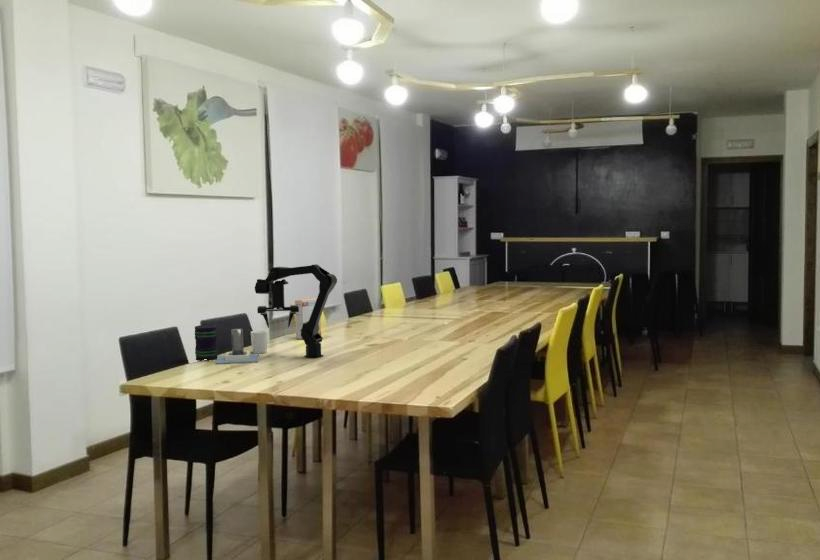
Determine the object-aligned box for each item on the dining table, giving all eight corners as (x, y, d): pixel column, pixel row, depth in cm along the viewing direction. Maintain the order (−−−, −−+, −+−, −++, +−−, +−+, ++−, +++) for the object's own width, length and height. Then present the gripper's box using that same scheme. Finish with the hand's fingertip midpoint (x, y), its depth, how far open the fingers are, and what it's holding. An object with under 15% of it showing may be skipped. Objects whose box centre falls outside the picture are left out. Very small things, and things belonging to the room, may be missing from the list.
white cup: (264, 354, 346) (263, 333, 345) (248, 353, 348) (247, 332, 347) (270, 351, 354) (270, 330, 353) (255, 350, 355) (254, 330, 355)
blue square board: (258, 355, 342) (258, 349, 342) (257, 362, 324) (257, 356, 324) (218, 357, 339) (218, 351, 339) (215, 364, 321) (215, 358, 321)
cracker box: (313, 335, 402) (312, 297, 400) (321, 336, 399) (320, 298, 397) (295, 339, 391) (294, 299, 389) (303, 340, 387) (302, 300, 386)
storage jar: (205, 361, 328) (204, 328, 327) (190, 359, 333) (189, 327, 332) (222, 358, 336) (221, 325, 335) (207, 356, 342) (206, 324, 340)
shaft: (245, 358, 331) (244, 329, 330) (234, 359, 328) (233, 330, 327) (241, 356, 335) (240, 328, 334) (230, 357, 332) (229, 329, 331)
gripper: (297, 292, 349) (298, 324, 350) (257, 293, 346) (258, 326, 347) (298, 294, 338) (299, 327, 340) (257, 295, 335) (257, 329, 336)
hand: (278, 327), depth 341 cm, fingers open, 9 cm apart
